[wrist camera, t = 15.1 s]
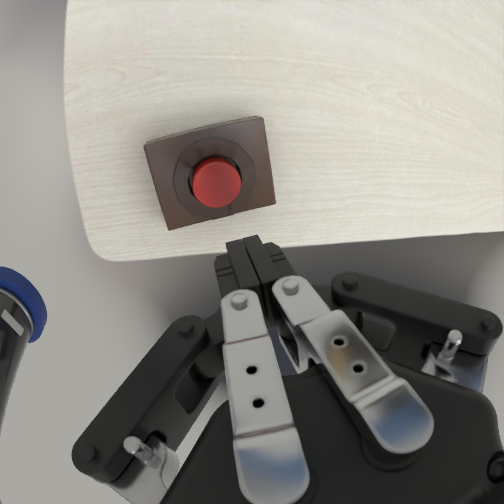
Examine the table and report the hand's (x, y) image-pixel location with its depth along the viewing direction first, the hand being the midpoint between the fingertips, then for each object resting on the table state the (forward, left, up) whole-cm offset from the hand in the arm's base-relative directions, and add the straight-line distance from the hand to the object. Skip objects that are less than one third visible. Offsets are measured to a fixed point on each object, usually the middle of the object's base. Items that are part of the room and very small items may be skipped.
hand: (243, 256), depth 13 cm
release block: (0, +1, -15) cm, 15 cm away
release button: (0, +1, -11) cm, 11 cm away
